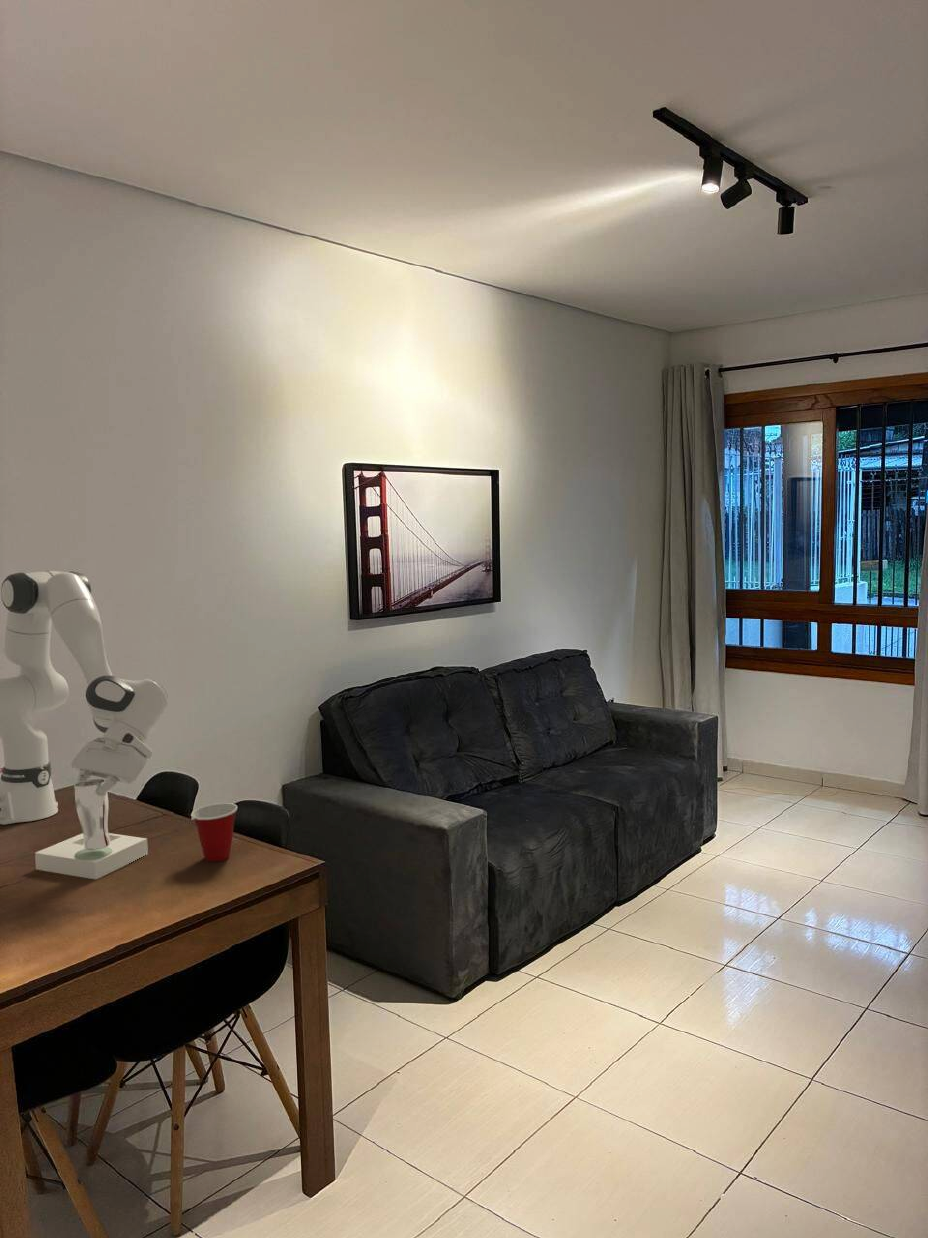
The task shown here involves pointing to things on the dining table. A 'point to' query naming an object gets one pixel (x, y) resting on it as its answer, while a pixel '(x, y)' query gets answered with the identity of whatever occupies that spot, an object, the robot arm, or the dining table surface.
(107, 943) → the dining table surface
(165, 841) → the dining table surface
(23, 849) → the dining table surface
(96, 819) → the beer glass
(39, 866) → the pale board
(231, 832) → the plastic cup
